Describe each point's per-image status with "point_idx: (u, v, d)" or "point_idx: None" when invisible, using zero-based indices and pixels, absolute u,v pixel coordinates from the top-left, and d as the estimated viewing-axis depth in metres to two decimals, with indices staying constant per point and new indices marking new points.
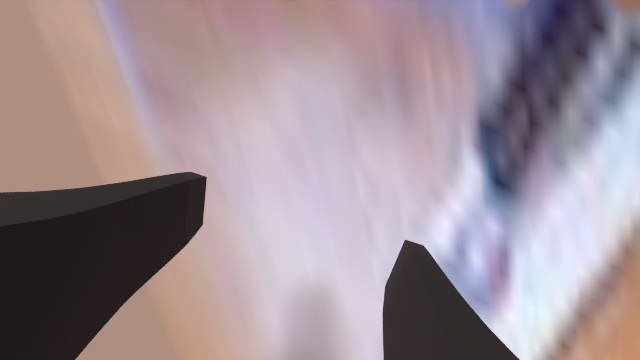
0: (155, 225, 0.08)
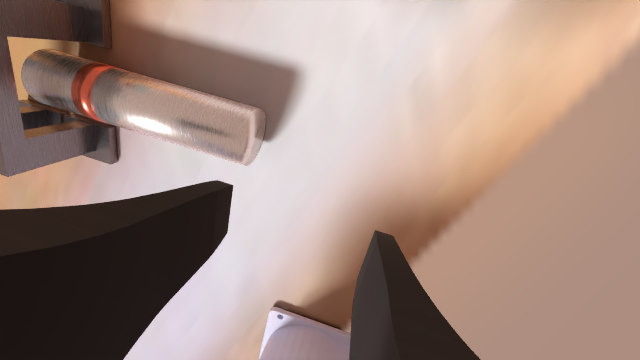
0: (187, 236, 0.08)
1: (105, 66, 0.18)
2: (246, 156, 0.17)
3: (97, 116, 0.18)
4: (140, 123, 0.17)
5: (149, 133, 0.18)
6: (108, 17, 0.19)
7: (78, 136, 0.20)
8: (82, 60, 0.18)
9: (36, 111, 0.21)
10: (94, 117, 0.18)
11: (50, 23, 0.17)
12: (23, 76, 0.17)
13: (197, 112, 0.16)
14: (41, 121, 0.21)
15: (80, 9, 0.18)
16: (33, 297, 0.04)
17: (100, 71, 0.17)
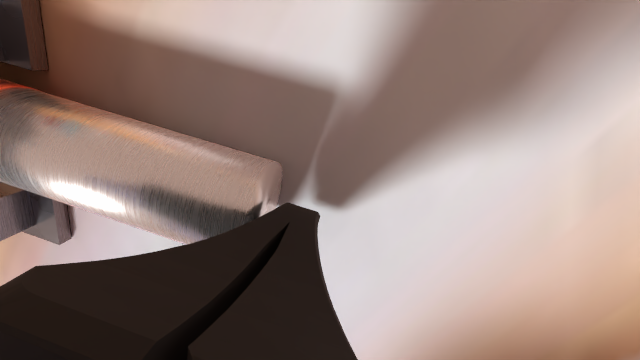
0: None
1: (11, 84, 0.10)
2: None
3: None
4: (49, 181, 0.09)
5: (67, 200, 0.09)
6: (38, 19, 0.11)
7: None
8: None
9: None
10: None
11: None
12: None
13: (161, 163, 0.09)
14: None
15: None
16: None
17: None
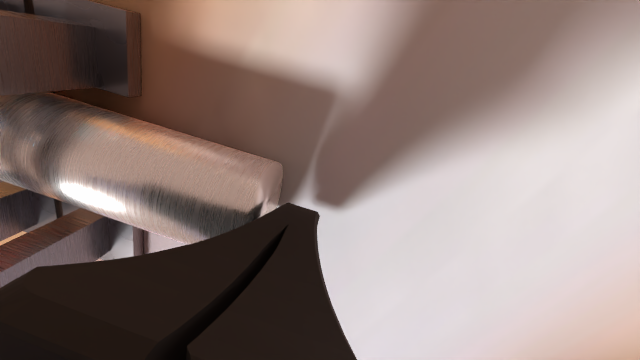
0: None
1: None
2: None
3: None
4: (50, 180, 0.09)
5: (67, 199, 0.09)
6: (137, 44, 0.10)
7: (83, 240, 0.12)
8: None
9: (14, 193, 0.13)
10: None
11: (30, 63, 0.08)
12: None
13: (162, 163, 0.09)
14: (23, 206, 0.13)
15: (88, 31, 0.10)
16: None
17: None
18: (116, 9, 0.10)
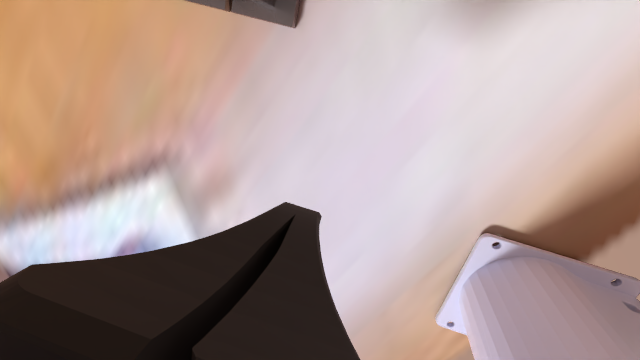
0: None
1: None
2: None
3: None
4: None
5: None
6: None
7: None
8: None
9: None
10: None
11: None
12: None
13: None
14: None
15: None
16: (186, 356, 0.04)
17: None
18: None
